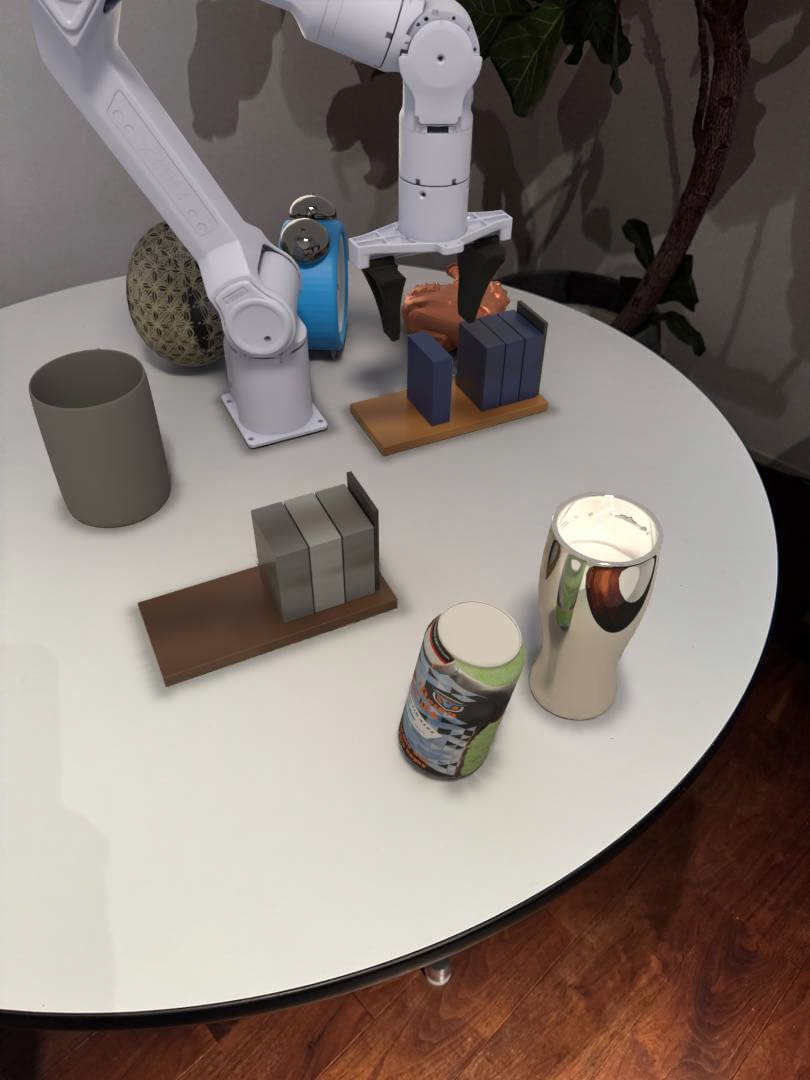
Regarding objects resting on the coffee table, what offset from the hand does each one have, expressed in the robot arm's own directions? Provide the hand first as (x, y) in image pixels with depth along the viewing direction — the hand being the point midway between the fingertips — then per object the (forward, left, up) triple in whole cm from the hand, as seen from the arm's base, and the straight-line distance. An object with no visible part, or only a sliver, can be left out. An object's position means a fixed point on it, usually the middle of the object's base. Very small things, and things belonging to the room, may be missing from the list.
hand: (429, 326), depth 79 cm
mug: (-3, -29, -10) cm, 31 cm away
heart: (-14, +10, -10) cm, 20 cm away
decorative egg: (-20, -18, -10) cm, 28 cm away
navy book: (0, 0, -9) cm, 9 cm away
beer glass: (+34, -6, -10) cm, 36 cm away
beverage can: (+35, -16, -10) cm, 40 cm away
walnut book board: (+18, -22, -10) cm, 30 cm away
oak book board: (0, +2, -10) cm, 10 cm away
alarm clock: (-18, -4, -10) cm, 21 cm away
